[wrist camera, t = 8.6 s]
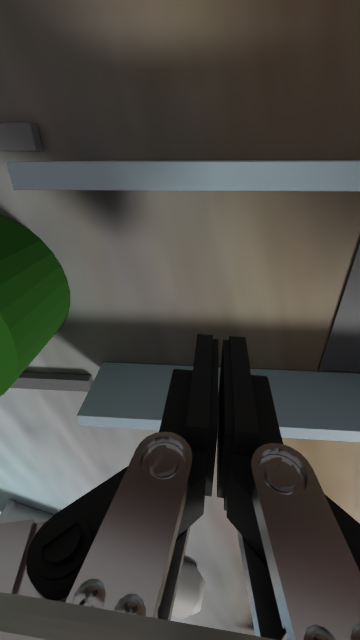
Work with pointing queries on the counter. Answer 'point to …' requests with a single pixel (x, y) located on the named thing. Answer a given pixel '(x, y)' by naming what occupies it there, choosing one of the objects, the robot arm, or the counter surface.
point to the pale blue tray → (153, 380)
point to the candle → (27, 298)
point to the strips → (29, 140)
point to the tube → (190, 577)
